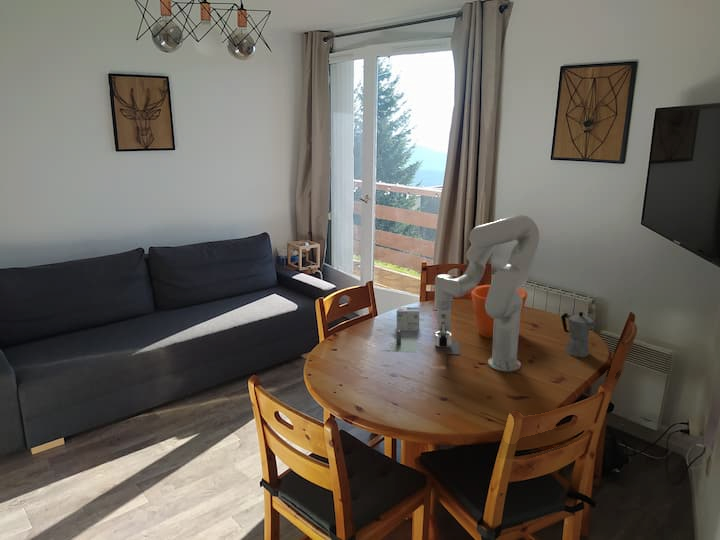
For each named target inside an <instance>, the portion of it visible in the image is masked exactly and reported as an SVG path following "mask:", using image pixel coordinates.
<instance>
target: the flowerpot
mask: <svg viewBox="0 0 720 540" xmlns="http://www.w3.org/2000/svg"><path fill="white" fill-rule="evenodd" d="M489 288H490V284H484V285H477V286H476V288H475V289H474V290H473V291H471V292H470V295H471V300H472V305H473V310H474V315H475V319H476V324H477V325H476V326H477V329H478V333H479V335H481V337H483V336H484V338H486V339H489V338H490V339H491V340H493V331H494V318H492V317H490V316H489V315H488V314H487V312H486V309H485V301H486V297H487V294H488V291H489ZM517 290H518V291H519V292H520V294H521V296H522V309H521V314H520V318H521V317H522V314H523V311H524V307H525V304H526V302H527V298H528V292H527V291H526V290H525V289H522V288H521V287H520V288H518V289H517Z"/></svg>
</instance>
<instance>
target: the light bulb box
mask: <svg viewBox="0 0 720 540" xmlns="http://www.w3.org/2000/svg"><path fill="white" fill-rule="evenodd" d="M398 330H402V331H403V332H404V331H409V332H413V331H414V332H420V308H419V306H397V307H396V331H398ZM402 331H401V332H402Z"/></svg>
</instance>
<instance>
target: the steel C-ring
mask: <svg viewBox="0 0 720 540" xmlns="http://www.w3.org/2000/svg"><path fill="white" fill-rule="evenodd" d="M441 333H442V332H441ZM439 337H440V331H439V330H437V331H435V332H434V345H435V346H437V347H440V348H441V346H439ZM451 341H452V332H450V331H449V332H448V331H447V346H450V345H451ZM447 346H446V347H447Z"/></svg>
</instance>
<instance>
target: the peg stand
mask: <svg viewBox="0 0 720 540" xmlns="http://www.w3.org/2000/svg"><path fill="white" fill-rule="evenodd" d="M395 332H396V333H395V334H396V336H395V337H396V340H395V342H394V343H390V344H392V346H391V345H389V346H391V347H390V349H392V350H389V351H388V352H398V353H399V352H401V353H402V352H404V353H417V351H418V337H405V336H404V337H402V331H399V330H396V331H395Z"/></svg>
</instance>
